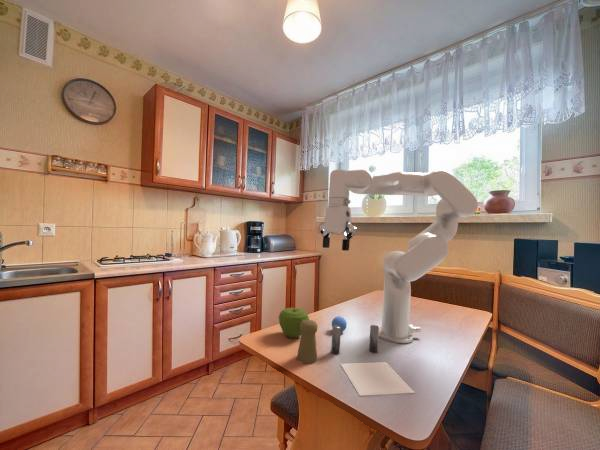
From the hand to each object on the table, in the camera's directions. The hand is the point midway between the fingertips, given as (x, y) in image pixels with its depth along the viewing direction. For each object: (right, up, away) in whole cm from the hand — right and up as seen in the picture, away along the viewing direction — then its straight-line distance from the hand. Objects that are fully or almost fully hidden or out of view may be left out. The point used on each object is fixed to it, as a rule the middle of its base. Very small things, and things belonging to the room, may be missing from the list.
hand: (335, 248), depth 97 cm
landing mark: (+6, -31, -29) cm, 43 cm away
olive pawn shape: (-11, -31, -20) cm, 39 cm away
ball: (+2, -29, +1) cm, 29 cm away
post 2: (+10, -32, -14) cm, 36 cm away
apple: (-16, -31, -5) cm, 35 cm away
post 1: (-2, -31, -16) cm, 35 cm away
